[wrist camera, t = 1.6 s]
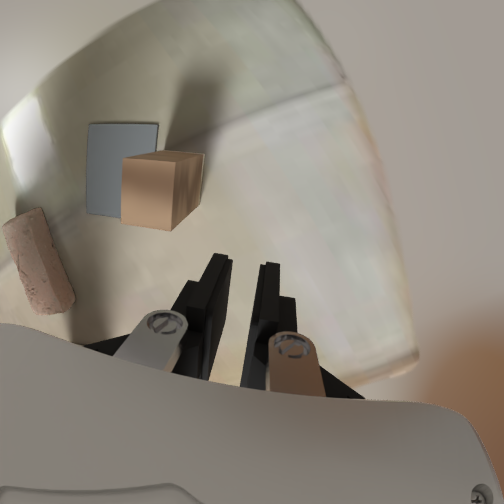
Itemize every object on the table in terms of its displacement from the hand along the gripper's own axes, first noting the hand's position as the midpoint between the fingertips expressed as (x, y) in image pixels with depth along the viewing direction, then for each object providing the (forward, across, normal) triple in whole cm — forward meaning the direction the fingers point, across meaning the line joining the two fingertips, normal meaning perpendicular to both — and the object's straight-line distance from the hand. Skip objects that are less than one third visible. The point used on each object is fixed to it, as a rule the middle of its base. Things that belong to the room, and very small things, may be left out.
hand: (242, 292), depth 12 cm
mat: (+23, +18, 0) cm, 30 cm away
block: (+23, +10, 0) cm, 25 cm away
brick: (+24, +34, +15) cm, 44 cm away
